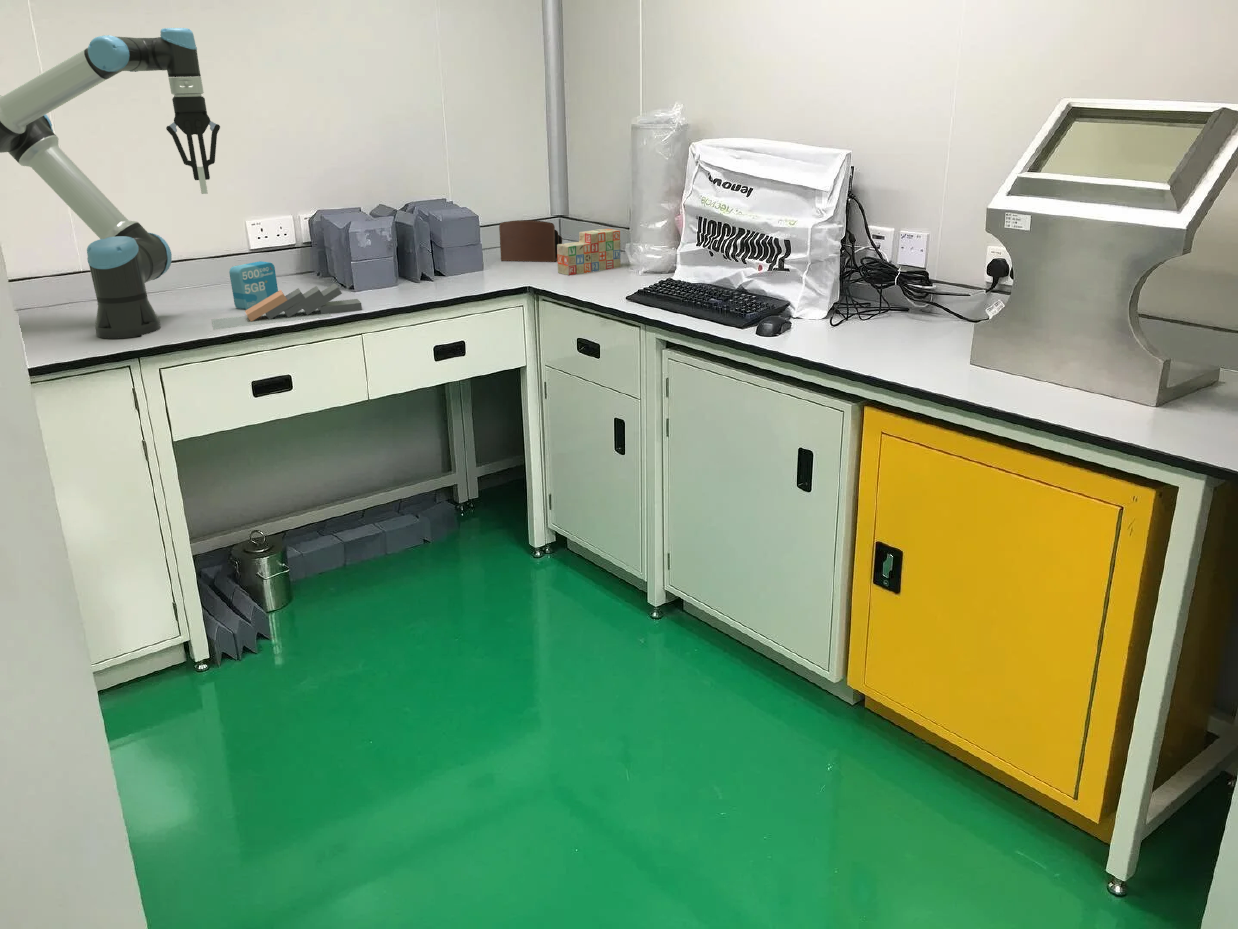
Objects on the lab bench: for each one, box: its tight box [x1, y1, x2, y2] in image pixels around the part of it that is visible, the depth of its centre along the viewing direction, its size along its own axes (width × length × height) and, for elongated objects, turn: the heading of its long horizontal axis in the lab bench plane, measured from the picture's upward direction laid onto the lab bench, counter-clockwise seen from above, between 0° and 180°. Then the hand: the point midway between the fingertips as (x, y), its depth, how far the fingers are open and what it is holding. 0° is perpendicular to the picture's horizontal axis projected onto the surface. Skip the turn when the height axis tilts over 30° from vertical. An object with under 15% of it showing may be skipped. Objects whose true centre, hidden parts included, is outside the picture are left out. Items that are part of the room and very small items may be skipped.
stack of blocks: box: [556, 228, 622, 276], centre depth 320 cm, size 21×6×12 cm, turn 129°
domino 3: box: [283, 285, 323, 318], centre depth 267 cm, size 2×6×11 cm
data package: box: [228, 260, 279, 311], centre depth 278 cm, size 12×4×12 cm, turn 147°
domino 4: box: [302, 283, 343, 315], centre depth 269 cm, size 2×6×11 cm
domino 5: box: [318, 298, 363, 314], centre depth 272 cm, size 2×6×11 cm
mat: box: [210, 309, 333, 330], centre depth 264 cm, size 30×12×1 cm, turn 114°
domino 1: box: [244, 289, 287, 322], centre depth 264 cm, size 2×6×11 cm
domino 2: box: [265, 288, 305, 320], centre depth 265 cm, size 2×6×11 cm
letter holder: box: [498, 219, 563, 263], centre depth 341 cm, size 10×20×14 cm, turn 78°
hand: (204, 193), depth 254 cm, fingers closed
